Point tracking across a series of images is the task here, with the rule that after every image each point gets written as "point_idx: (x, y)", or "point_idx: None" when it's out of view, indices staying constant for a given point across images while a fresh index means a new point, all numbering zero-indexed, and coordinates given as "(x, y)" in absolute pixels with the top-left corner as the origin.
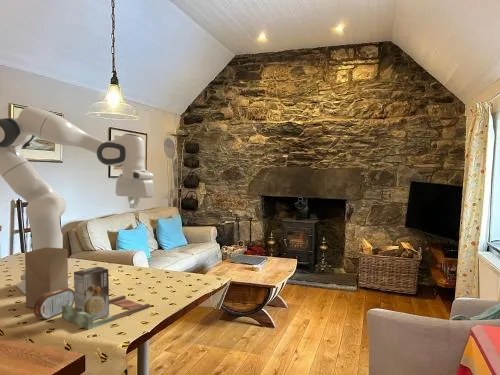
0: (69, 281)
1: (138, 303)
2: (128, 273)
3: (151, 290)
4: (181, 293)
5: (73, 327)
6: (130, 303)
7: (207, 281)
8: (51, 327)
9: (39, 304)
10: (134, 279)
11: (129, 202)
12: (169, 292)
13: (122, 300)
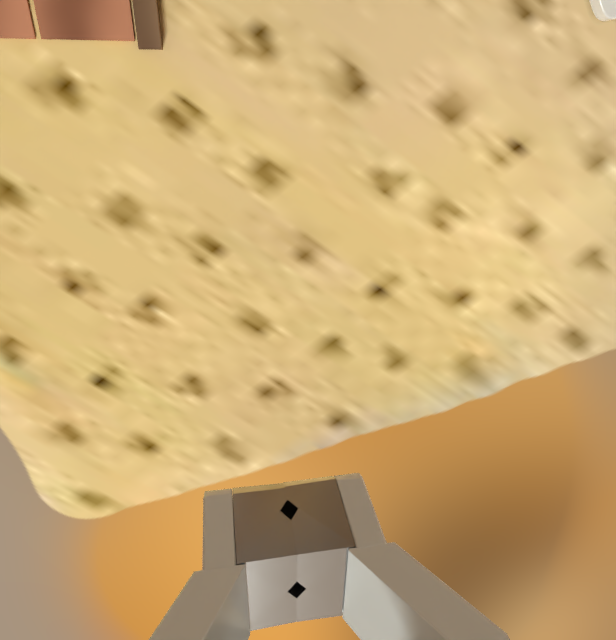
0: (603, 2)
1: (6, 37)
2: (468, 306)
3: (164, 223)
4: (16, 288)
5: None
6: (37, 6)
7: (93, 452)
8: None
9: None
10: (373, 272)
11: (399, 566)
12: (72, 261)
13: (117, 10)
